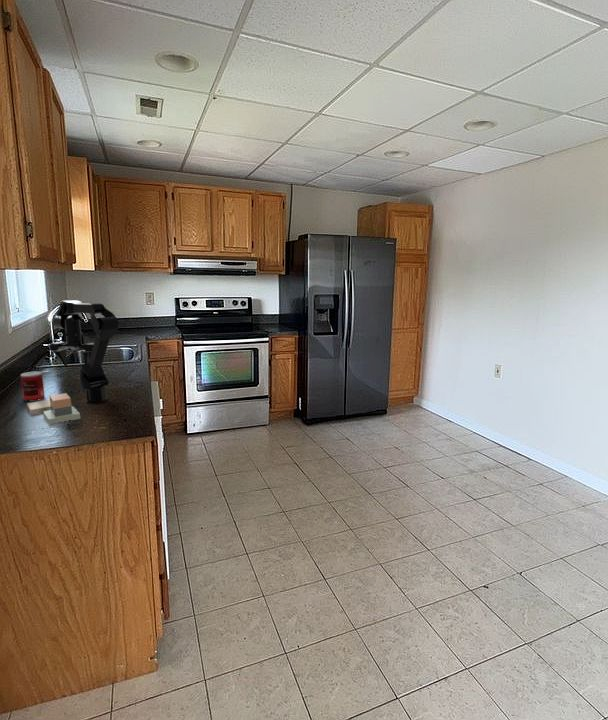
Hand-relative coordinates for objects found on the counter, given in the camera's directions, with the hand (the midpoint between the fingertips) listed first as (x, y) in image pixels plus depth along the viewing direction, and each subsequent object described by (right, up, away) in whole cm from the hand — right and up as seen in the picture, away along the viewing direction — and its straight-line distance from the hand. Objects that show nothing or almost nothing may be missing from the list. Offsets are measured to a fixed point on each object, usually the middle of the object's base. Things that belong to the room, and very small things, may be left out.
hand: (76, 366), depth 180 cm
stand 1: (-4, -16, -15) cm, 23 cm away
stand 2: (+8, -19, -25) cm, 32 cm away
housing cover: (+8, -14, -26) cm, 30 cm away
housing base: (+8, -17, -25) cm, 31 cm away
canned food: (-17, -14, -2) cm, 22 cm away
